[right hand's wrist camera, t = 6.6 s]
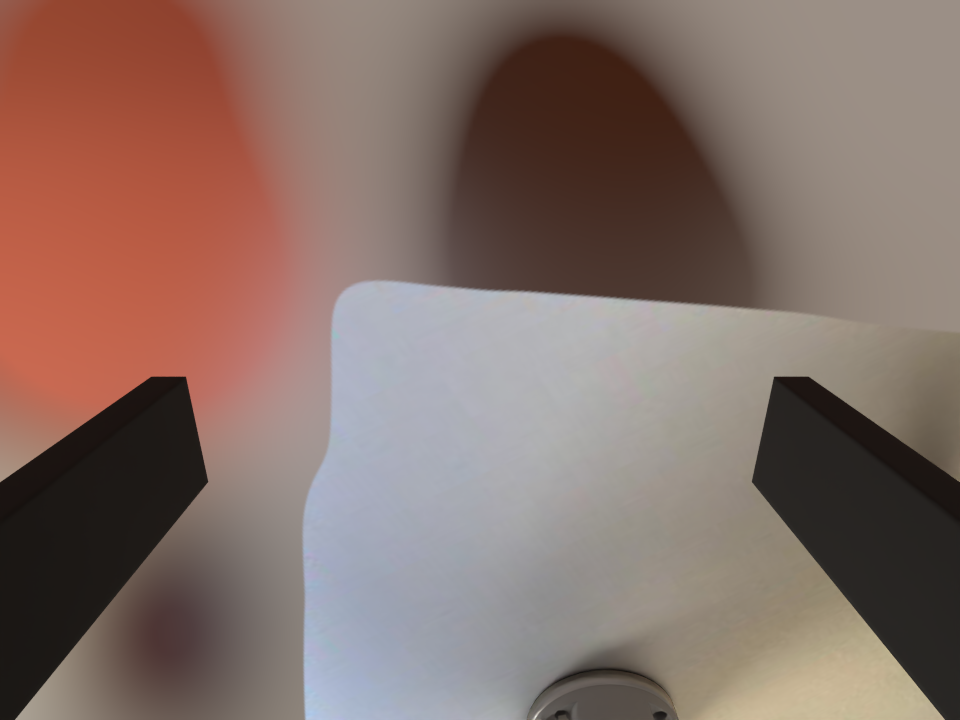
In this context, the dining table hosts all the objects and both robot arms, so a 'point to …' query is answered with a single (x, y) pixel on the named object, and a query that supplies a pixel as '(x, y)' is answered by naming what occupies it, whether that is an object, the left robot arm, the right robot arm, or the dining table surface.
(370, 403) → the dining table surface
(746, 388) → the dining table surface
